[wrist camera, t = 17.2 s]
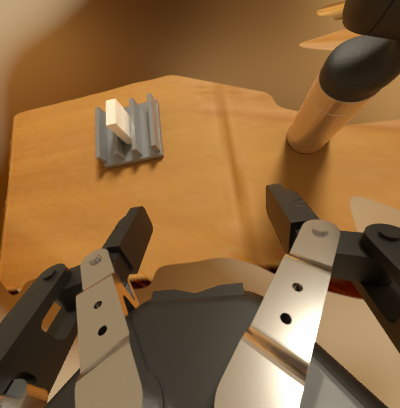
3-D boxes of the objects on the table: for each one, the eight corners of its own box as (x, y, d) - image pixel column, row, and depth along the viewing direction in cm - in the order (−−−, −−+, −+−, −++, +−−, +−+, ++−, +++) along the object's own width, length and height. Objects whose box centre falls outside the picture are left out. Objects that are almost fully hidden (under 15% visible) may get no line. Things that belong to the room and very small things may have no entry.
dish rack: (163, 156, 51) (156, 148, 46) (107, 168, 53) (94, 161, 49) (158, 103, 55) (151, 90, 50) (105, 116, 57) (94, 105, 52)
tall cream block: (135, 142, 52) (115, 123, 43) (126, 144, 52) (105, 125, 43) (134, 121, 53) (115, 98, 44) (126, 123, 53) (105, 100, 45)
